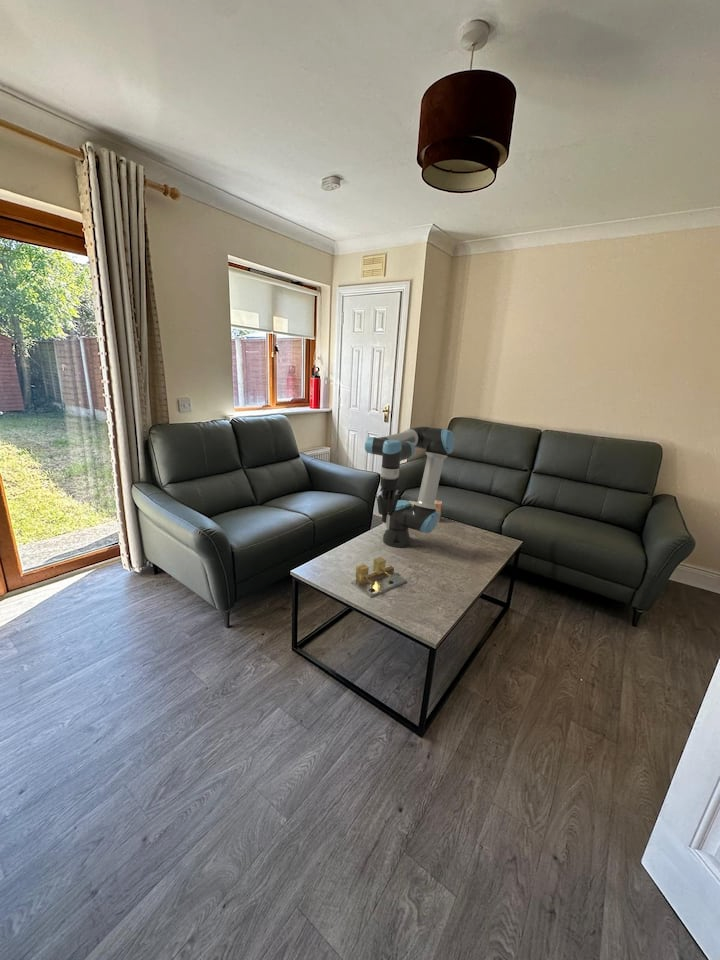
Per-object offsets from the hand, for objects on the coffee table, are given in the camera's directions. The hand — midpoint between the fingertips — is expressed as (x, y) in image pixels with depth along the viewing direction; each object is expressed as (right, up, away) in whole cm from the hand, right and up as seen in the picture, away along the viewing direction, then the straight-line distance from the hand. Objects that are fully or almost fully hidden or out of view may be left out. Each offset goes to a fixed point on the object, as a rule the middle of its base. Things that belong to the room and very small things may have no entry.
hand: (385, 528), depth 170 cm
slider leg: (-1, -23, +4) cm, 23 cm away
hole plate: (-3, -25, +3) cm, 25 cm away
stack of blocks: (+29, -3, +79) cm, 85 cm away
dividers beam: (-2, -24, +3) cm, 24 cm away
